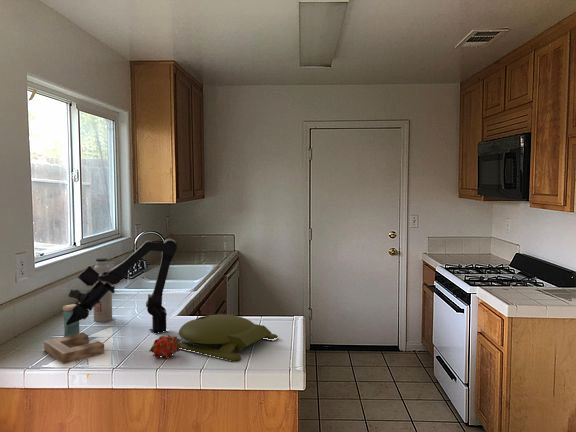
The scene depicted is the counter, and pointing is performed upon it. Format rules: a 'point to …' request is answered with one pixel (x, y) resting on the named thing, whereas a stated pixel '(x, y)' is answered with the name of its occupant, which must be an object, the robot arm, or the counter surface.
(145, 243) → the robot arm
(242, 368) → the counter surface
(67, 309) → the cord reel
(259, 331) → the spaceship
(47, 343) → the cutout shelf
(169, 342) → the dragon fruit
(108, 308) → the thermos bottle
